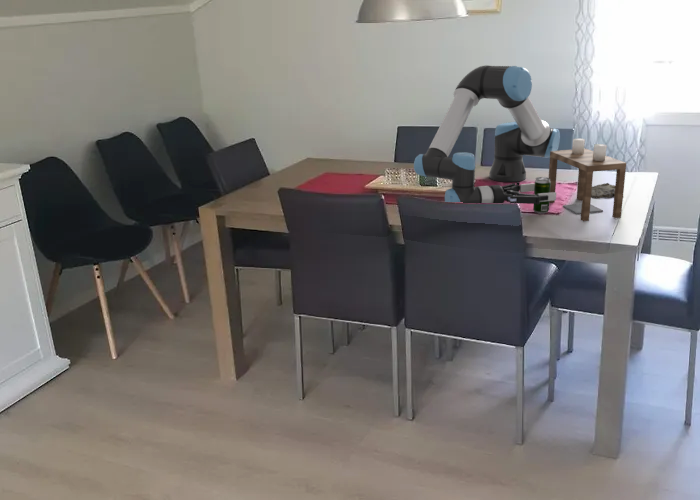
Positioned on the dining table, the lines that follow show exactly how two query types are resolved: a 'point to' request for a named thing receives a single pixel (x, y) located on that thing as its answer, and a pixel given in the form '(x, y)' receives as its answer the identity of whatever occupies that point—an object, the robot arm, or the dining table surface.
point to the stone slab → (603, 191)
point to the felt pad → (577, 208)
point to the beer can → (542, 187)
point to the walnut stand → (589, 177)
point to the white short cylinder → (578, 146)
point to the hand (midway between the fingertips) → (546, 191)
